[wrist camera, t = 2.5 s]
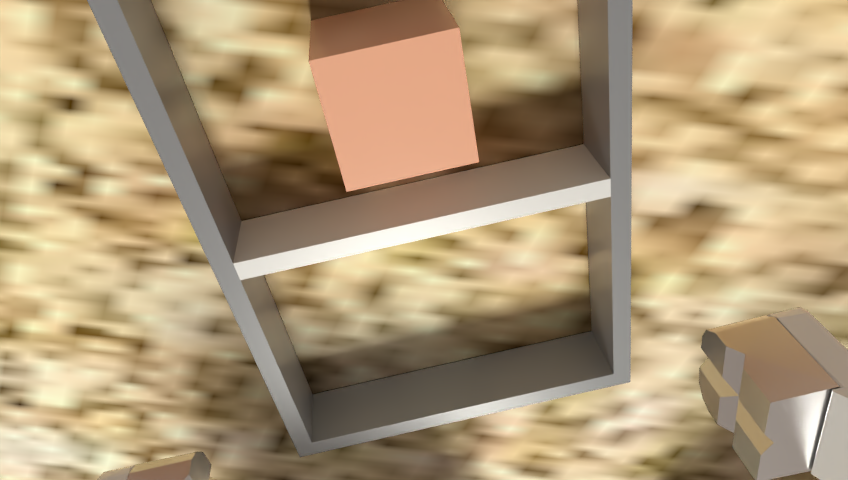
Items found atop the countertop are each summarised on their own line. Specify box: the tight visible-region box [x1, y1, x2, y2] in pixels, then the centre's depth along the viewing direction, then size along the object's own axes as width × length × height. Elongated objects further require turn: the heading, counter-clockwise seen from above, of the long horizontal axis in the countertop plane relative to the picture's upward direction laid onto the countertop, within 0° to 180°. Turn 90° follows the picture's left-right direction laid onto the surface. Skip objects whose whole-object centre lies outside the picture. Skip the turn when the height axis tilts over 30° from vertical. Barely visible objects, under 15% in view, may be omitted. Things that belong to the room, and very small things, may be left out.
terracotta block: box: [309, 0, 479, 192], centre depth 22 cm, size 4×4×4 cm
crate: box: [87, 0, 632, 457], centre depth 25 cm, size 16×22×3 cm
